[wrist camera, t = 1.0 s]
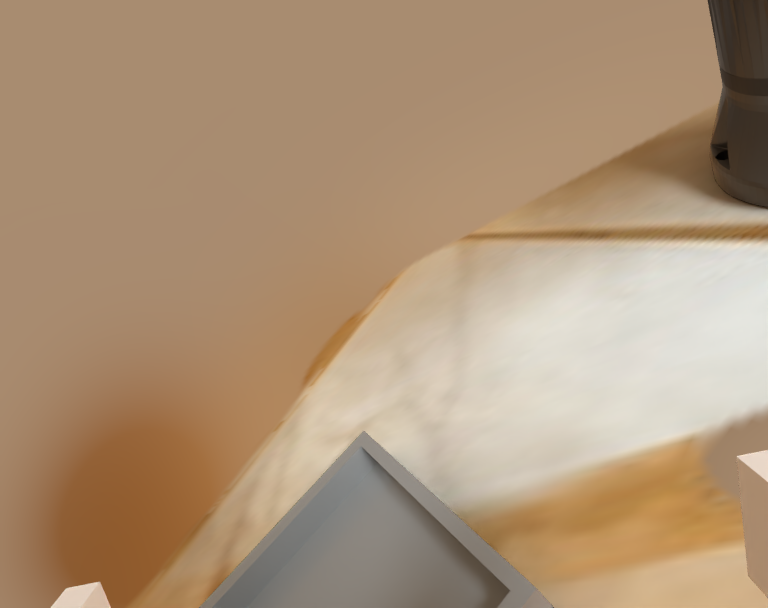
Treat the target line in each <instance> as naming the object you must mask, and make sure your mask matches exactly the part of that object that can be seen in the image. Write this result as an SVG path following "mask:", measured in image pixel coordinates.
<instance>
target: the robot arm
mask: <svg viewBox="0 0 768 608" xmlns="http://www.w3.org/2000/svg"><path fill="white" fill-rule="evenodd" d="M708 4H709V10H710V16H711V21H712V26H713V32H714V38H715V43H716V49H717V56H718V61H719V66H720V71H721V78H722V85H723V88H722V93H721V97H720V102H719V107H718V111H717V116H716V120H715V125H714V130H713V134H712V139H711V144H710V159H711V164H712V169H713V173H714V177H715V180H716V182H717V183H718V185H719V186H720V187H721V188H722V189H723V190H724V191H725V192H726V193H728V194H729V195H731V196H733V197H735V198H737V199H739V200H742V201H744V202H748V203H751V204H755V205H760V206H765V207H768V0H708ZM736 459H737V469H738V479H739V489H740V499H741V509H742V519H743V529H744V539H745V549H746V559H747V569H748V576H749V577H750V579H751V580H752V581H753V582H754V583H755V584H756V585H757V586H758V588H759V589H760V590H761V591H762V592H763V593H764V594H765V595H766V597H767V598H768V450H766V451H760V452H755V453H750V454H745V455H740V456H737V457H736ZM51 608H111V607H110V605H109V602H108V600H107V597H106V595H105V593H104V590H103V588H102V585H101V583H100V582H96V583H91V584H86V585H80V586H75V587H70V588H66V589H65V590H64V592H63V593H62V594H61V595H60V597H59V598H58V599H57V600H56V602H55V603H54V604H53V605H52V607H51Z"/></svg>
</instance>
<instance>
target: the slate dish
mask: <svg viewBox="0 0 768 608" xmlns="http://www.w3.org/2000/svg"><path fill="white" fill-rule="evenodd" d="M199 608H554V607H553V606H552V605H551V604H550V603H549V602H548V600H547V599H546V598H545V597H544V596H543V595H542V594H541V593H540V592H539V591H538V589H537V588H536V587H534V586H533V585H532V584H531V583H530V582H529V581H528V580H527V579H526V578H525V577H524V576H522V575H521V574H520V573H519V572H518V571H517V570H516V569H515V568H514V567H513V566H511V565H510V564H509V563H508V562H507V561H506V560H505V559H504V558H503V557H502V556H501V555H499V554H498V553H497V552H496V551H495V550H494V549H493V548H492V547H491V546H490V545H488V544H487V543H486V542H485V541H484V540H483V539H482V538H481V537H480V536H479V535H478V534H476V533H475V532H474V531H473V530H472V529H471V528H470V527H469V526H468V525H467V524H465V523H464V522H463V521H462V520H461V519H460V518H459V517H458V516H457V515H456V514H455V513H453V512H452V511H451V510H450V509H449V508H448V507H447V506H446V505H445V504H444V503H442V502H441V501H440V500H439V499H438V498H437V497H436V496H435V495H434V494H433V493H431V492H430V491H429V490H428V489H427V488H426V487H425V486H424V485H423V484H422V483H421V482H419V481H418V480H417V479H416V478H415V477H414V476H413V475H412V474H411V473H410V472H408V471H407V470H406V469H405V468H404V467H403V466H402V465H401V464H400V463H399V462H398V461H396V460H395V459H394V458H393V457H392V456H391V455H390V454H389V453H388V452H387V451H385V450H384V449H383V448H382V447H381V446H380V445H379V444H378V443H377V442H376V441H375V440H373V439H372V438H371V437H370V436H369V435H368V434H367V433H366V432H365V431H363V432H362V433H361V434H360V435H359V436H358V438H357V439H356V440H355V441H354V442H353V443H352V444H351V445H350V446H349V447H348V448H347V449H346V450H345V451H344V453H343V454H342V455H341V456H340V457H339V458H338V459H337V460H336V461H335V462H334V463H333V464H332V465H331V467H330V468H329V469H328V470H327V471H326V472H325V473H324V474H323V475H322V476H321V477H320V478H319V479H318V480H317V482H316V483H315V484H314V485H313V486H312V487H311V488H310V489H309V490H308V491H307V492H306V493H305V494H304V495H303V497H302V498H301V499H300V500H299V501H298V502H297V503H296V504H295V505H294V506H293V507H292V508H291V509H290V511H289V512H288V513H287V514H286V515H285V516H284V517H283V518H282V519H281V520H280V521H279V522H278V523H277V524H276V526H275V527H274V528H273V529H272V530H271V531H270V532H269V533H268V534H267V535H266V536H265V537H264V538H263V540H262V541H261V542H260V543H259V544H258V545H257V546H256V547H255V548H254V549H253V550H252V551H251V552H250V553H249V555H248V556H247V557H246V558H245V559H244V560H243V561H242V562H241V563H240V564H239V565H238V566H237V567H236V568H235V570H234V571H233V572H232V573H231V574H230V575H229V576H228V577H227V578H226V579H225V580H224V581H223V582H222V584H221V585H220V586H219V587H218V588H217V589H216V590H215V591H214V592H213V593H212V594H211V595H210V596H209V597H208V599H207V600H206V601H205V602H204V603H203V604H202V605H201V606H200V607H199Z"/></svg>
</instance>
